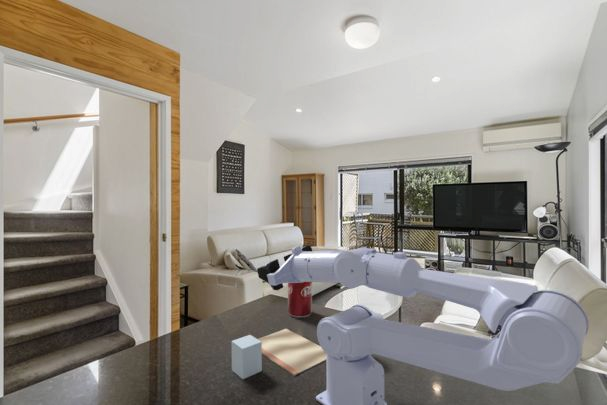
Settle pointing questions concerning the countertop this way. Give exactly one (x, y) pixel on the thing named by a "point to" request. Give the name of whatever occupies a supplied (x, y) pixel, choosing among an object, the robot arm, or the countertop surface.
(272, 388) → the countertop surface
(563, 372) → the robot arm
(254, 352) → the block
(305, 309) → the soda can
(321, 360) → the mat
